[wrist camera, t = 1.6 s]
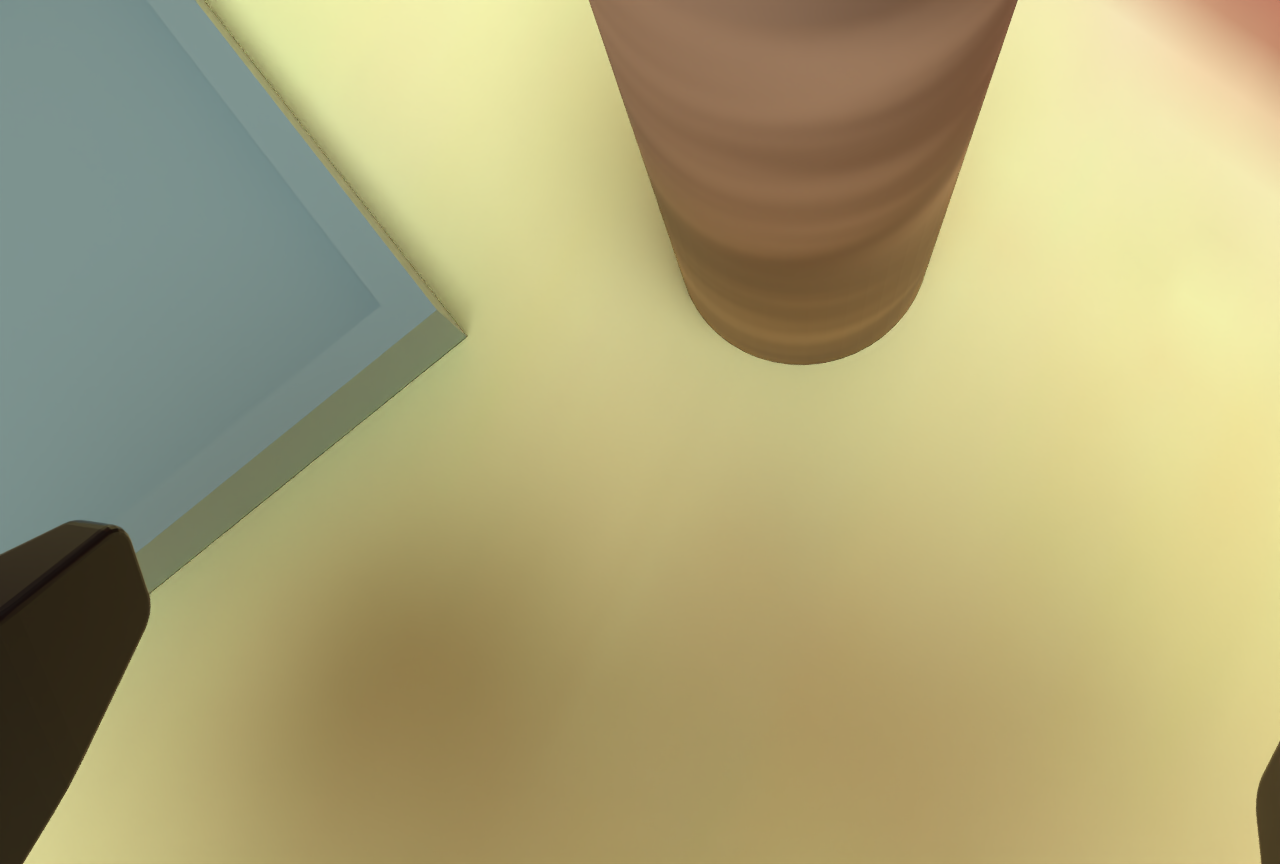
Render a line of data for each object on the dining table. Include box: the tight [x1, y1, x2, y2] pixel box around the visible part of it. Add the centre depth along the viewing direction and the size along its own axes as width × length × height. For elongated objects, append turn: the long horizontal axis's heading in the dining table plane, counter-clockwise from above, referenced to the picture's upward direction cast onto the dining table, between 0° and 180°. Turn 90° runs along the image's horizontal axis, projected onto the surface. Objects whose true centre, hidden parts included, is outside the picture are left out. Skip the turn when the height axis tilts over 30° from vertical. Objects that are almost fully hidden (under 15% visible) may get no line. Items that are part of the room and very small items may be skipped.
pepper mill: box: [589, 0, 1018, 365], centre depth 17 cm, size 5×5×13 cm
